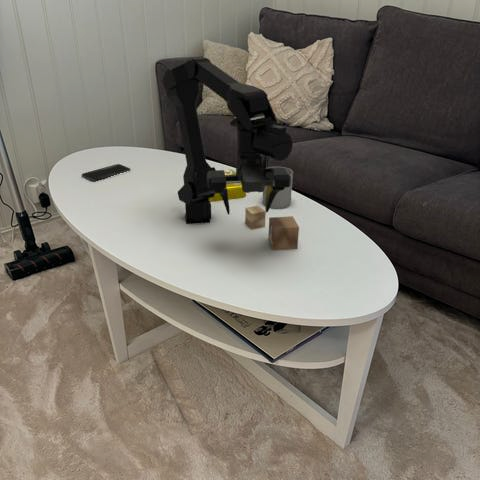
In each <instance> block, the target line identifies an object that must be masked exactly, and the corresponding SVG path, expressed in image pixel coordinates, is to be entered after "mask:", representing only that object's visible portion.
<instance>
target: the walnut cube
mask: <svg viewBox="0 0 480 480" xmlns="http://www.w3.org/2000/svg"><path fill="white" fill-rule="evenodd" d="M299 231H300V226H299V224H298V223H297V221H296V219H295V217H294V215H292V216H291V215H290V216H274V217H268V238H267V239H268V241H269V242H268V243H269V244H270V246H271V249H272V250H273V251H283V250H285V251H286V250H298V245H299V234H300V233H299Z"/></svg>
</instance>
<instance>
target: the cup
mask: <svg viewBox="0 0 480 480" xmlns="http://www.w3.org/2000/svg"><path fill="white" fill-rule="evenodd" d="M267 168H285V169H286V170H287V172H288V173H289V175H290V176H291V186H290V187H284V188H285V189H284V190H281V191H279V192H278V193H277V194H276V196H275V198H274V199H273V202H272V204H271V206H270V208H269V209H271V210H285V209H287V208H289V207H291V205H292V190H293V179H294V176H293V175H294V171H293V170H292V169H291V168H289V167H284V166H269V167H267ZM266 191H267V186H265V188H264V191H263V192H262V202H261V203H262V205H263V206H264V207H265V201H266Z"/></svg>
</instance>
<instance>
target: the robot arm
mask: <svg viewBox="0 0 480 480" xmlns="http://www.w3.org/2000/svg"><path fill="white" fill-rule="evenodd" d="M162 83H163V84H162V85H163V87H164V90H165V94H166V97H167V99H168V100H169V101H170V102H171V103H172V104H173V106H174V107H175V110H176V116H177V119H178V126H179V132H180V134H181V139H182V146H183V151H184V155H185V160H186V167H185V170H184V173H183V176H182V177H183V185H182V187H180V189H179V190H178V191H177V196H178V200H179V201H181V202H182V203H184V208H185V214H184V215H185V216H184V217H185V224H186V225H194V224H195V225H196V224H197V225H198V224H209V223H211V219H212V202H210V201H209V198H211V197H214V196H215V193H219V194H220V196H221V197H222V199H223V200H222V202H223V204H224V205H223V206H224V207H225V210H226V213H227V215H230V211H231V210H230V202H229V200H228V191H227V188H226V184H229V183H241V184H242V190H243V192H245V193H246V194H250V193H256V192H257V193H263V191H264V188H265V186H267V191H266V201H265V206H264V210H265V211H266V213H269V211H270V209H271V208H270V206H271V204H272V202H273V199H274V198H275V196H276V194H277V193H278V192H279V191H281V190H284V189H285V188H284V187H290V186H291V176H290V175H289V173H288V172H287V170H286V169H285V168H268V167H264V165H263V156H265V157H267V158H271V159H274V160H276V161H280V162H282V161H284V160H286V159H288V157H289V156H290V154H291V152H292V150H293V141H292V137H291V135H290V134H288V133H287V127H286V126H283V125H278V119H277V115H276V114H275V112H274V110H273V106H272V105H271V102H270V99H269V98H268V94H267V92H266V91H264V89H261V88H259V87H258V86H257V87H256V86H254V85H251V84H246V83H241V82H239V81H238V80H236V79H235V78H234V77H232V76H231V75H229V74H228V73H227V72H225V71H223V70H222V69H221V68H219V67H218V66H216V64H214V63H212V62H211V60H210V59H209V58H207V57H195V58H190V59H189V60H186V62H184V63H183V64H181V65H178V66H176V67H174V68H170V69H167V70H166V71H165V72H164V75H163V77H162ZM201 83H202V84H203V85H204V86H205V87H206V88H208V89H209V90H211V91H212V92H213V93H215V94H216V95H217V96H219V98H222V100H223V101H224V102H225V103H226V107H227V110H228V111H229V112H230V113H231V114H232V115H233V116H234V117H235V118H234V119H232V120H231V121H229V125H230V126H232V127H234V128H236V139H235V142H236V144H235V146H236V149H235V150H236V152H235V153H236V154H235V157H236V158H235V160H236V161H235V172H236V175H225V173H224V169H220V170H219V169H218V170H217V169H216V167H215V166H211V165H210V164H209V163H208V161H207V159H206V153H205V148H204V143H203V137H202V131H201V126H200V121H199V116H198V110H197V100H198V97H199V96H200V95H199V94H200V84H201Z"/></svg>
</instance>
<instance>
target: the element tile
mask: <svg viewBox="0 0 480 480" xmlns="http://www.w3.org/2000/svg"><path fill="white" fill-rule="evenodd" d="M223 170H224V169H223ZM224 173H225V175H236V171H235V170H233V169H225V170H224ZM226 188H227V191H228V201H229V200H237V199H238V200H239V199H244V198H245V197H246V196H247V193H245V192H243V190H242V184H241V183H229V184H226ZM209 201H210V202H211V203H214V202H220V201H222V202H223V199H222V197H221V196H220V194H219V193H215V196H214V197H211V198H209Z"/></svg>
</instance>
